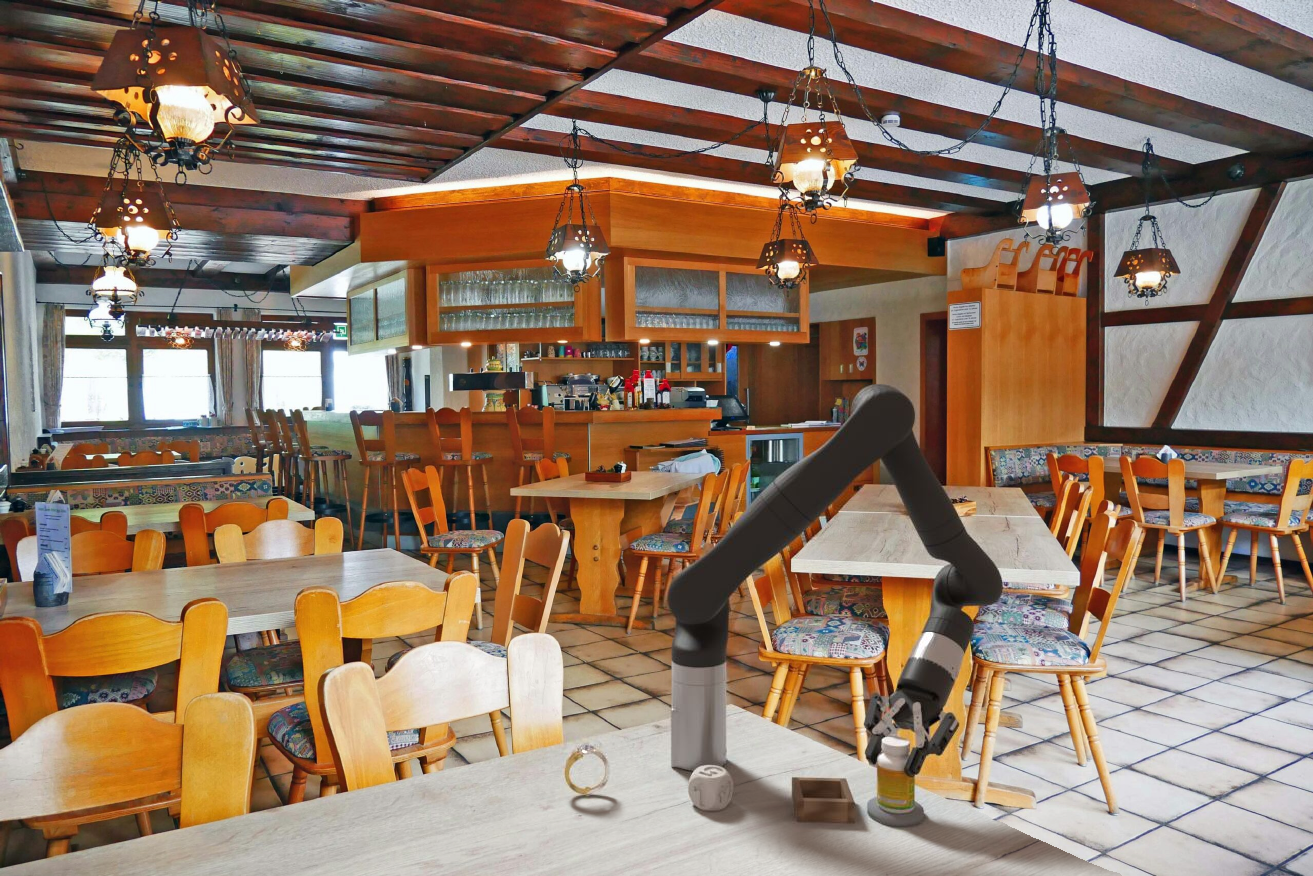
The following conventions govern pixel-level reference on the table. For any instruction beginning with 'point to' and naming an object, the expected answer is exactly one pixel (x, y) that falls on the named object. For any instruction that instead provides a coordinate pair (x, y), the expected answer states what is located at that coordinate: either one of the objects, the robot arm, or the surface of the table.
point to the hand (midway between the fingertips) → (889, 767)
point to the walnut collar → (823, 800)
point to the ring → (582, 750)
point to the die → (710, 787)
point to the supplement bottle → (894, 777)
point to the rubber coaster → (895, 815)
